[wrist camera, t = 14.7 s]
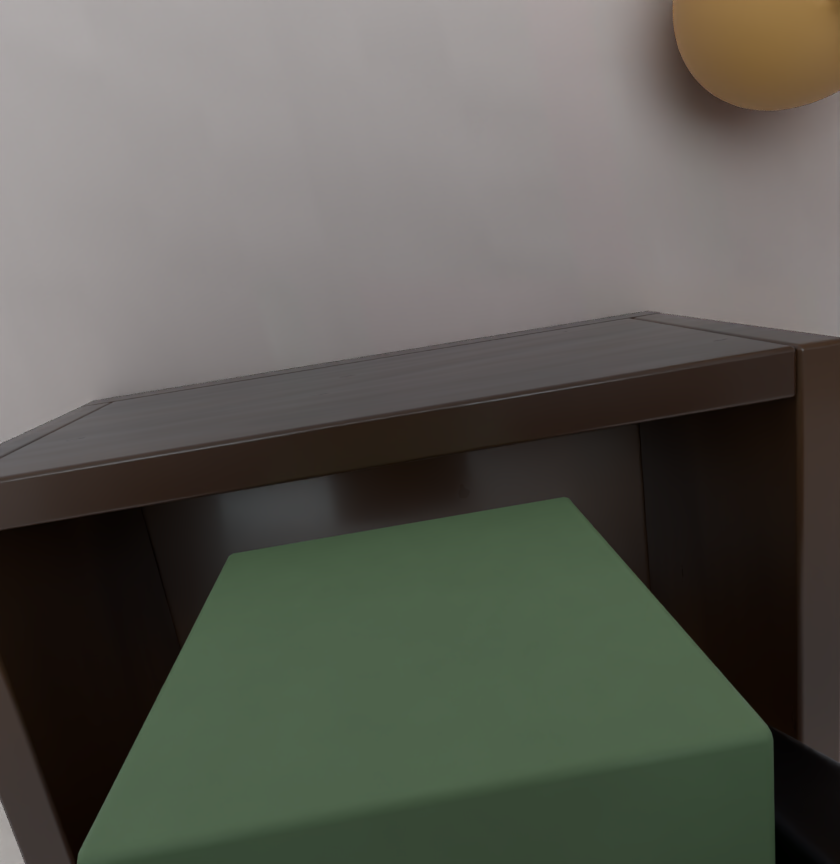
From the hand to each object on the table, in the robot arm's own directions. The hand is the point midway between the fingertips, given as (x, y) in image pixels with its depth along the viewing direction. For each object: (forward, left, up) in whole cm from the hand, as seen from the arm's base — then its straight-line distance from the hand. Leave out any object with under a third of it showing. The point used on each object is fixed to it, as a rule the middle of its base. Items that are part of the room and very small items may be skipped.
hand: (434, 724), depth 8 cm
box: (0, +2, -8) cm, 8 cm away
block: (0, 0, -1) cm, 1 cm away
